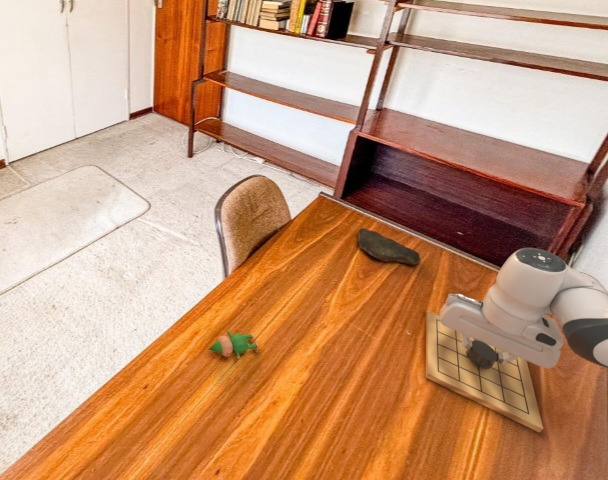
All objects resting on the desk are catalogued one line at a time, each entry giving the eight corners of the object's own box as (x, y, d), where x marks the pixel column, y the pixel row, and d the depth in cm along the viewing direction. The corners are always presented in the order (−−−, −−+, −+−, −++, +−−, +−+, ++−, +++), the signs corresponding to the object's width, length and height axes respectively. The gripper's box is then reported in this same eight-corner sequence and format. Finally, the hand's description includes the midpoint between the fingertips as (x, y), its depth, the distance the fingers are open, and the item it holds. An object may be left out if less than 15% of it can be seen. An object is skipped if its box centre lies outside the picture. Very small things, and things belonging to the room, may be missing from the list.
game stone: (490, 355, 93) (496, 347, 92) (493, 373, 89) (499, 365, 88) (465, 344, 95) (469, 336, 94) (466, 361, 91) (471, 353, 90)
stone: (419, 258, 124) (422, 251, 123) (412, 279, 116) (415, 271, 115) (359, 232, 134) (361, 225, 133) (349, 250, 126) (351, 243, 125)
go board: (521, 354, 96) (524, 350, 95) (539, 433, 81) (543, 428, 80) (425, 314, 105) (427, 310, 105) (425, 377, 90) (428, 373, 89)
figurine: (259, 360, 93) (211, 369, 90) (247, 333, 99) (201, 341, 96) (263, 347, 91) (214, 357, 88) (250, 321, 97) (204, 329, 94)
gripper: (451, 299, 88) (429, 340, 94) (574, 348, 78) (542, 390, 84) (449, 281, 93) (429, 321, 99) (565, 325, 83) (535, 366, 89)
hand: (482, 353), depth 91 cm, fingers closed on game stone, 5 cm apart
